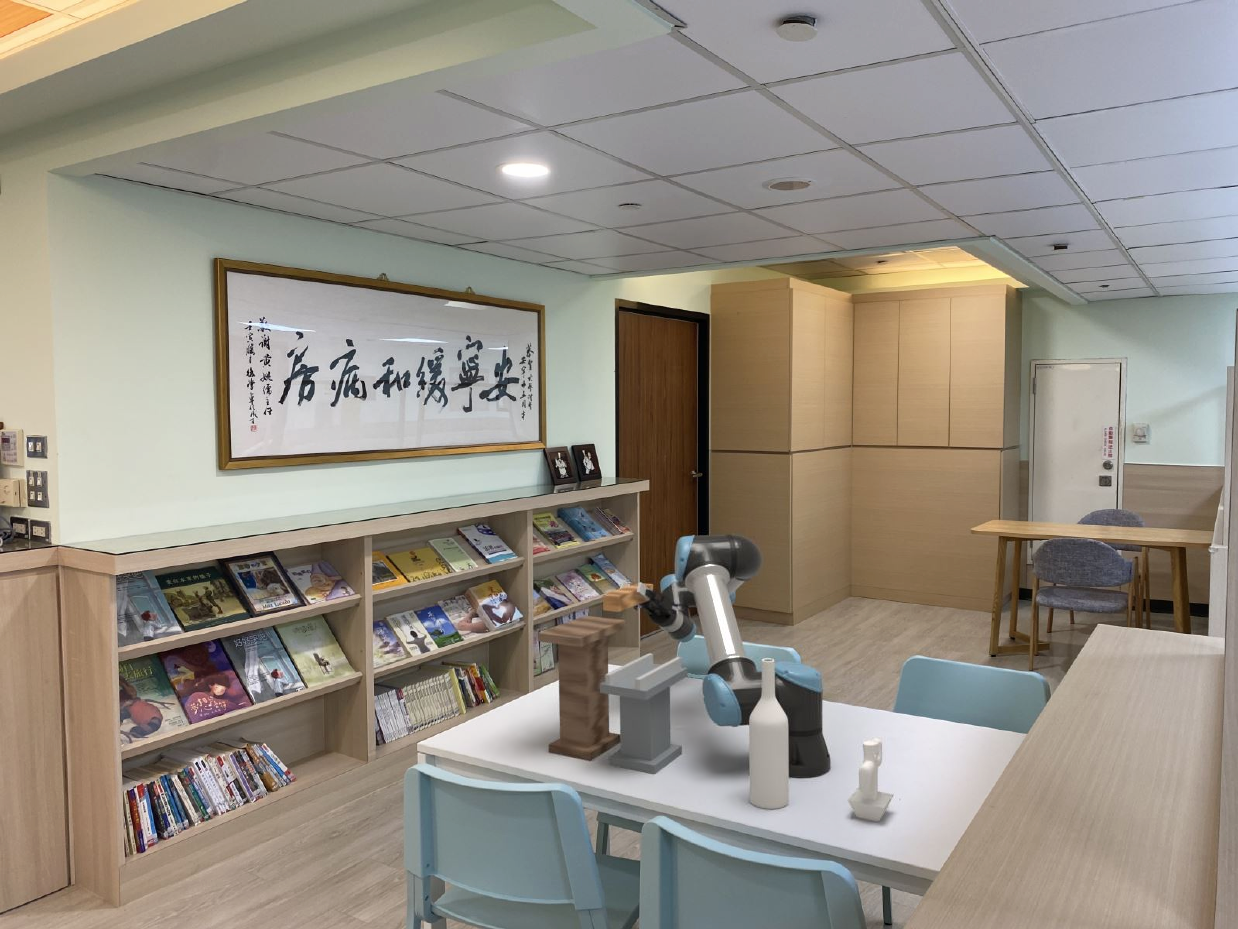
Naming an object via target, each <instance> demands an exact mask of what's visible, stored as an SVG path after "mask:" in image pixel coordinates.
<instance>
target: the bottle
mask: <svg viewBox="0 0 1238 929" xmlns="http://www.w3.org/2000/svg"><path fill="white" fill-rule="evenodd" d="M775 662H776V661H775V659H774V658H768V657H766V658H762V659H761V671H762V695H761V699H760V700H759V702H758V703H757V705H756V707H755V708H754V710H753V711H752V713H751V715H750V718H749V725H748V732H749V733H748V740H749V745H748V746H749V747H748V748H749V749H748V750H749V752H748V754H749V757H748V758H749V760H748V761H749V767H748V768H749V801H750V803H751V804H752V805H753V806H755V807H758V808H761V809H766V810H778V809H782V808H784V807H787V805H788V804H789V801H790V800H789V798H790V796H789V795H790V793H789V792H790V790H789V789H790V784H789V780H790V779H789V777H790V776H789V761H788V719H787V716H786V714H785V712H784V711H783V709H782V707H781V706H780V704H779V703H778V701H777V699H776V697H775Z"/></svg>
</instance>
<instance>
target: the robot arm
mask: <svg viewBox="0 0 1238 929" xmlns="http://www.w3.org/2000/svg"><path fill="white" fill-rule="evenodd" d="M674 554H675V555H674V573H672V574H667V575H665V576H664V577H662V579H661V580H660V582H659V584H660V592H659V593H657V592H658V590H657V589H654V588H653V591H651V590H650V589H649V588H647V587H646V586H645V585H644V584H645V583H644V584H643V582H640V581H639V582H638V583H639V584H638V588H637V592H638V593H639V594H640V595H641V596H642V597H644V598H645V599H646V600H649V601H646V602H644V603H641V604H638V605H636V606H633V607H632V608H633V610H635V611H638V610H639V609H641V610H643V612H646V613H647V614H648V617H649V619H650V621H651V622H652V623H653V624H654V625H656V626H657V627H659V628H660V629H661V630H663V631H664V633H666V634H668V635H669V636H670V637H671V638H672V639H673V640H676V641H677V642H680V643H687V642H690V641H691V640H692V639H694V638H695V635H696V633H697V625H696V623H695V622H694V620H693V619H692V618H691V613H690V608H696V610H697V613H698V617H699V622H700V625H701V626H700V627H701V630H702V633H703V638H704V642H705V646H706V650H707V654H708V659H709V661H710V662H709V663H710V667H709V668H708V670H707V671H706V675H705V676H704V677H703V680H702V695H703V702H704V706H705V709H706V712H707V713H708V714H707V715H708V717H709V718H710V719H711V721H712V722H713V723H714V724H715V725H717V726H719V727H732V728H735V727H737V728H738V727H741V726H749V718H750V715H751V713H752V711H753V710H754V708H755V707H756V705H757V703H758V702H759V700H760V699H761V695H762V670H760V671H758V669H757V665H756V663H755V662H754V660H753V659H751V658H750V657H747V654H746V651H745V647H744V644H743V640H742V636H741V633H740V630H739V626H738V622H737V618H736V615H735V611H734V607H733V604H734V603H735V599H736V590H737V589H739V588H740V586H742V585H743V583H745V582H748V581H750V580H752V579H754V578H755V577H757V575H758V574H759V573H760V571H761V570H762V566H763V564H764V563H763V555H762V551H761V549H760V547H759V546H758V545H757V544H756V542H754V541H753V540H751V539H750V538H748V537H747V536H744V535H741V534H735V533H729V534H707V535H705V534H703V535H695V534H693V535H687V536H686V535H685V536H682V537H680V538H679V539H678V540H677V542H676V546H675V553H674ZM628 586H631V585H630V584H629V583H628V582H626V581H625V580H622V581H621V583H620V586H619V589H622V588H625V587H628ZM774 662H775V697H776V699H777V701H778V703H779V704H780V706H781V707H782V709H783V711H784V712H785V714H786V716H787V719H788V761H789V777H792V778H813V777H818V776H821V775H823V774H826V773H828V772H829V771H830V769H831V756H830V753H829V750H828V745H827V742H826V740H825V738H824V734H823V696H824V695H823V693H824V689H823V678H822V674H821V673H820V671H819V670H818V669H817V668H814V667H812V666H810V665H806V664H803V663H798V662H794V661H793V662H792V661H774Z"/></svg>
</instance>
